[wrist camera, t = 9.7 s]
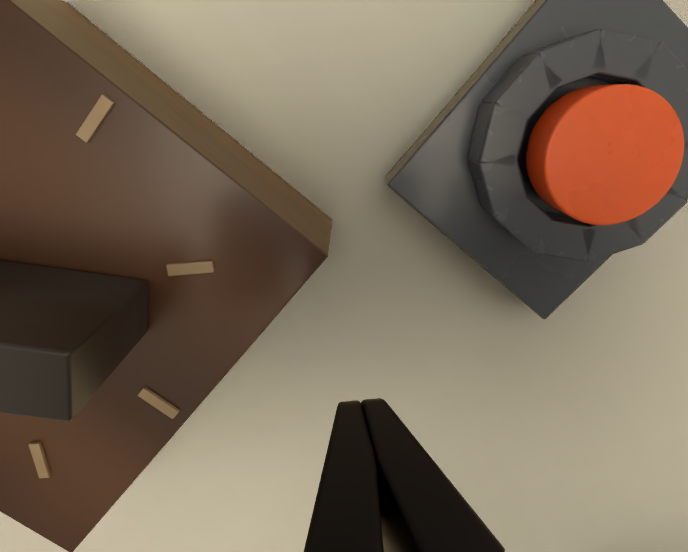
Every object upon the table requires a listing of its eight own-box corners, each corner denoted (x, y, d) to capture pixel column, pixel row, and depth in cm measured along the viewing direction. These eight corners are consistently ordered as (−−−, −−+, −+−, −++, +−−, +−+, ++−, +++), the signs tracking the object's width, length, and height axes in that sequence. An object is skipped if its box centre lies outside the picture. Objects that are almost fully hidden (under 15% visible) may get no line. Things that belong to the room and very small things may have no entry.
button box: (580, -52, 18) (633, -86, 15) (729, 108, 20) (807, 110, 16) (383, 178, 20) (390, 193, 17) (530, 304, 22) (562, 341, 19)
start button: (593, 56, 16) (621, 52, 15) (679, 144, 17) (714, 149, 15) (498, 159, 17) (515, 166, 16) (584, 238, 18) (608, 252, 16)
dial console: (-2, -54, 18) (-130, -110, 13) (332, 220, 21) (328, 256, 16) (-181, 270, 22) (-335, 320, 17) (124, 466, 25) (68, 557, 20)
